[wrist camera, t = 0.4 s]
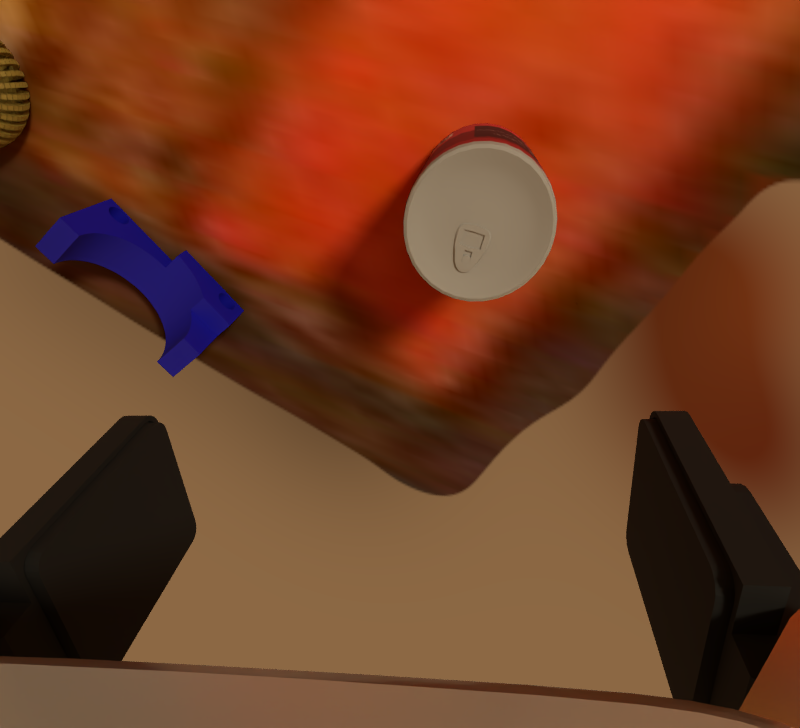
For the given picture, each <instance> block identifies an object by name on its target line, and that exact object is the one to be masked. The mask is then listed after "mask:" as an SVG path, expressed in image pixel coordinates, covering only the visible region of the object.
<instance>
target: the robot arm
mask: <svg viewBox="0 0 800 728" xmlns="http://www.w3.org/2000/svg"><path fill="white" fill-rule="evenodd" d="M195 533H196V522H195V518H194V515H193V512H192V509H191V506H190V503H189V500H188V496H187V493H186V490H185V487H184V484H183V480H182V477H181V475H180V471H179V468H178V465H177V462H176V458H175V455H174V452H173V449H172V446H171V443H170V439H169V436H168V433H167V430H166V428H165V426H164V425H163V424H162V423H159V422H158V421H157V419H156V418H155V417H153V416H124V417H122V418H121V419H119V420H118V421H117V422H116V423H115V424H114V425H113V426H112V427H111V428H110V429H109V430H108V431H107V432H106V433H105V434H104V435H103V436H102V437H101V438H100V439H99V440H98V441H97V442H96V443H95V444H94V445H93V446H92V447H91V448H90V449H89V450H88V451H87V452H86V453H85V454H84V455H83V456H82V457H81V458H80V459H79V460H78V461H77V462H76V463H75V464H74V465H73V466H72V467H71V468H70V469H69V470H68V471H67V472H66V473H65V474H64V475H63V476H62V477H61V478H60V479H59V480H58V481H57V482H56V483H55V484H54V485H53V486H52V487H51V488H50V489H49V490H48V491H47V492H46V493H45V494H44V495H43V496H42V497H41V498H40V499H39V500H38V501H37V502H36V503H35V504H34V505H33V506H32V507H31V508H30V509H29V510H28V511H27V512H26V513H25V514H24V515H23V516H22V517H21V518H20V519H19V520H18V521H17V522H16V523H15V524H14V525H13V526H12V527H11V528H10V529H9V530H8V531H7V532H6V533H5V534H4V535H3V536H2V537H1V538H0V728H800V570H799V569H798V567H797V566H796V564H795V563H794V561H793V559H792V558H791V556H790V555H789V553H788V551H787V550H786V548H785V547H784V545H783V543H782V542H781V540H780V539H779V537H778V535H777V534H776V532H775V531H774V529H773V527H772V526H771V524H770V523H769V521H768V520H767V518H766V516H765V515H764V513H763V512H762V510H761V508H760V507H759V505H758V504H757V502H756V501H755V499H754V497H753V496H752V494H751V492H750V491H749V490H748V489H747V488H746V486H744V485H742V484H730V483H729V481H728V479H727V477H726V476H725V474H724V472H723V471H722V469H721V467H720V465H719V464H718V463H717V461H716V459H715V457H714V455H713V454H712V452H711V450H710V448H709V447H708V445H707V444H706V442H705V440H704V438H703V437H702V435H701V433H700V432H699V430H698V428H697V427H696V425H695V423H694V422H693V420H692V418H691V416H690V415H689V414H688V412H686V411H653V412H652V413H651V415H650V419H642V420H640V423H639V429H638V438H637V446H636V454H635V462H634V471H633V479H632V488H631V496H630V505H629V514H628V522H627V531H626V539H627V547H628V551H629V555H630V558H631V562H632V565H633V568H634V571H635V574H636V578H637V581H638V584H639V588H640V591H641V594H642V598H643V601H644V604H645V607H646V611H647V614H648V617H649V621H650V624H651V627H652V631H653V634H654V637H655V640H656V644H657V647H658V650H659V653H660V657H661V660H662V664H663V667H664V670H665V673H666V677H667V680H668V683H669V687H670V690H671V693H672V696H673V698H666V697H658V696H650V695H642V694H633V693H622V692H609V691H597V690H584V689H572V688H559V687H547V686H534V685H521V684H520V685H519V684H505V683H489V682H473V681H458V680H441V679H426V678H410V677H394V676H378V675H362V674H345V673H327V672H309V671H293V670H277V669H259V668H240V667H224V666H206V665H187V664H168V663H167V664H166V663H148V662H147V663H146V662H128V661H122V659H123V657H124V656H125V654H126V652H127V651H128V649H129V647H130V646H131V644H132V642H133V641H134V639H135V637H136V635H137V633H138V632H139V631H140V629H141V627H142V626H143V623H144V622H145V621H146V619H147V617H148V615H149V614H150V612H151V610H152V609H153V607H154V605H155V603H156V602H157V600H158V599H159V597H160V595H161V594H162V592H163V590H164V589H165V587H166V585H167V584H168V582H169V580H170V579H171V577H172V575H173V574H174V572H175V570H176V568H177V567H178V565H179V563H180V562H181V560H182V558H183V557H184V555H185V553H186V552H187V550H188V548H189V547H190V545H191V543H192V542H193V540H194V537H195Z"/></svg>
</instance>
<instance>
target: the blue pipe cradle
mask: <svg viewBox="0 0 800 728" xmlns="http://www.w3.org/2000/svg"><path fill="white" fill-rule="evenodd" d="M35 247H37V248H38V249H39V250H40V251H41V252H42V253H43V254H44V255H45V256H46V257H47V258H48V259H49V260H50V261H51V262H52V263H53V264H55V263H57V262H61V261H67V260H79V261H86V262H90V263H94V264H97V265H100V266H103V267H105V268H107V269H109V270H111V271H113V272H115V273H117V274H119V275H120V276H122V277H123V278H125V279H126V280H128V281H129V282H130V283H132V284H133V285H134V286H135V287H136V288H138V289H139V290H140V291H141V292H142V293H143V294H144V295H145V297H146V298H147V299H148V300H149V301H150V302H151V304H152V305H153V307H154V308H155V309H156V311H157V313H158V315H159V317H160V319H161V321H162V323H163V326H164V330H165V335H166V346H165V350H164V353H163V355H162V356H161V358H160V359H159V360H158V361H157V362H158V363H159V364H160V365H161V366H162V367H163V368H164V369H165V370H166V371H167V372H168V373H169V374H171V375H172V376H173V377H174V376H175V375H176V374H177V373H178V372H180V371H181V370H182V369H183V368H184V367H185V366H186V365H188V364H189V363H190V362H191V361H192V360H194V359H195V358H196V357H197V356H198V355H200V354H201V353H202V352H203V350H204V349H205V348H206V347H207V346H208V345H209V344H210V343H211V342H212V341H213V340H214V339H215V338H216V337H217V336H218V335H219V334H220V333H222V332H223V331H224V330H225V329H226V328H227V327H229V326H230V325H231V324H232V323H233V322H234V321H235V320H236V319H237V317H238V316H239V315H240V314H241V313H242V312H243V311H244V310H243V309H242V308H241V307H240V306H239V305H238V304H237V303H236V302H235V301H234V300H233V299H232V298H231V297H230V296H229V295H228V294H227V292H226V291H225V290H224V289H223V288H222V287H221V286H220V285H219V284H218V283H217V282H216V281H215V280H214V279H213V278H212V277H211V276H210V275H209V274H208V273H207V272H206V271H205V270H204V269H203V268H202V266H201V265H200V264H199V263H198V262H197V261H196V260H195V259H194V258H193V257H192V256H191V255H190V254H189V253H188V252H187V251H184V252H183V253H181V254H180V255H178V256H177V257H176V258H175V259H174V260H173V261H172V260H171V259H170V258H169V257H168V256H167V255H166V254H165V253H164V252H163V251H162V250H161V249H160V248H159V247H158V246H157V245H156V244H155V243H154V242H153V241H152V240H151V239H150V238H149V237H148V236H147V235H146V234H145V233H144V232H143V231H142V230H141V229H140V228H139V227H138V226H137V225H136V223H135V222H134V221H133V220H132V219H131V218H130V217H129V216H128V215H127V214H126V213H125V212H124V211H123V210H122V209H121V208H120V207H119V206H118V205H117V204H116V203H115V202H114V201H113V200H112V199H109V200H107V201H104V202H101V203H98V204H96V205H93V206H90V207H87V208H85V209H82V210H79V211H77V212H74V213H71V214H68V215H66V216H63V217H60V218H59V219H58V221H57V222H56V223H55V224H54V225H53V226H52V228H51V229H50V230H49V231H48V232H47V233H46V234H45V236H44V237H43V238H42V239H41V240H40V241H39V243H38V244H37V245H36V246H35Z"/></svg>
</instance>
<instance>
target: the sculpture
mask: <svg viewBox="0 0 800 728" xmlns="http://www.w3.org/2000/svg"><path fill="white" fill-rule="evenodd" d="M9 66H10V67H9ZM7 68H9V69H8V70H7ZM19 68H20V66H19V64H18V62H17V61H16V60H14V56H13V55H12V53H11V52H10V51H9V50H8V49H7V48H6V46H5V45H4V44H3V43H2V42H1V41H0V148H2V147H5V146H6V145H8V144H9V143H11V142H13V141H14V140H15V139H16V138H17V137H18V135H20V134H21V132H22V131H23V128H24V127H25V126H26V123H27V119H28V117H29V109H30V102H29V101H28V100H27V99H29V98H30V96H29V92H28V91H26V90H22V89H16V88H26V87H27V86H28V85H27V82H9V81H14V80H19V79H22V78H24V77H25V76H24V74H23V72H22V71H19ZM17 69H18V70H17ZM20 102H21V103H20Z"/></svg>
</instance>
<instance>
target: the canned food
mask: <svg viewBox="0 0 800 728" xmlns="http://www.w3.org/2000/svg"><path fill="white" fill-rule="evenodd" d="M556 223H557V210H556V200H555V196H554V193H553V190H552V187H551V184H550V182H549V180H548V178H547V176H546V174H545V172H544V171H543V169H542V167H541V165H540V164H539V162H538V161H537V159H536V158H535V156H534V155H533V153H532V152H531V150H530V148H529V147H528V146H527V145H526V143H525V142H524V141H523V140H522V139H521V138H520V137H519V136H518V135H516V134H515V133H513V132H512V131H511V130H508V129H506V128H504V127H501V126H499V125H493V124H488V123H487V124H473V125H469V126H466V127H462V128H460V129H458V130H456V131H454V132H452V133H451V134H450V135H448V136H447V137H446V138H444V139H443V140H442V141H441V142H440V143H439V144H438V145H437V147H436V148H435V149H434V150H433V152H432V153H431V155H430V157H429V158H428V160H427V162H426V163H425V165H424V167H423V169H422V170H421V172H420V174H419V175H418V177H417V179H416V181H415V182H414V184H413V187H412V189H411V192H410V194H409V197H408V200H407V202H406V207H405V213H404V239H405V244H406V249H407V252H408V254H409V257H410V259H411V262H412V264H413V265H414V267H415V268H416V270H417V271H418V273H419V274H420V276H421V277H422V278H423V279H424V280H425V281H426V282H427V283H428V284H429V285H430V286H432V287H433V288H435V289H436V290H438V291H439V292H441V293H442V294H445V295H447V296H450V297H452V298H455V299H460V300H465V301H487V300H492V299H497V298H499V297H502V296H505V295H507V294H510V293H512V292H513V291H515V290H516V289H518V288H520V287H521V286H523V285H524V284H525V283H526V282H527V281H528V280H530V279H531V278H532V277H533V276H534V275H535V274H536V272H537V271H538V270H539V269H540V267H541V266H542V265H543V263H544V262H545V260H546V258H547V256H548V254H549V252H550V250H551V247H552V244H553V240H554V237H555V233H556Z"/></svg>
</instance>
